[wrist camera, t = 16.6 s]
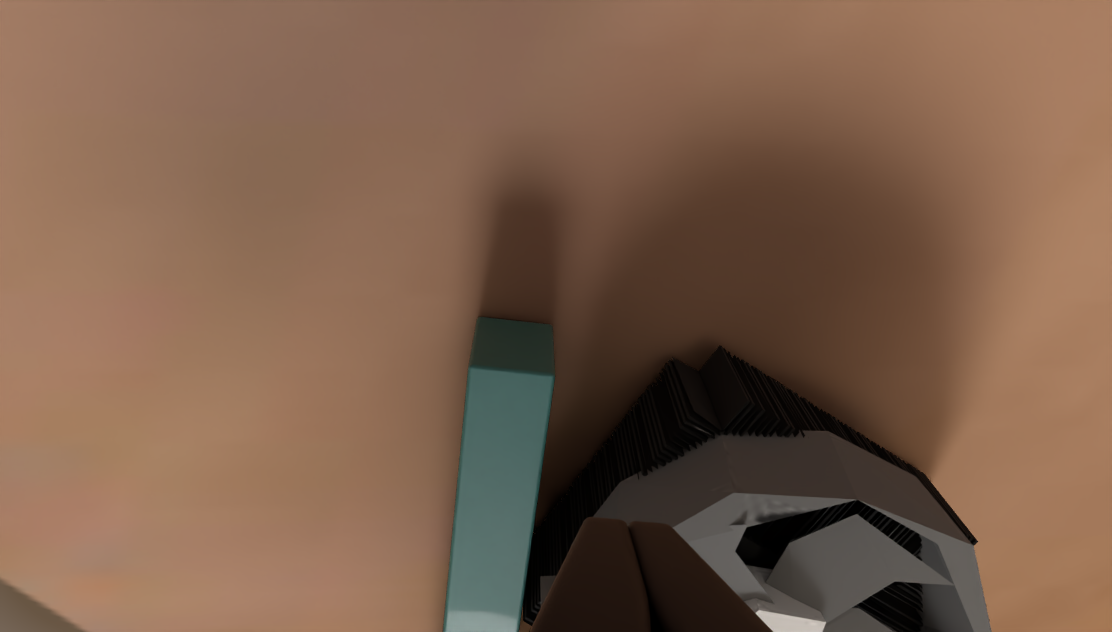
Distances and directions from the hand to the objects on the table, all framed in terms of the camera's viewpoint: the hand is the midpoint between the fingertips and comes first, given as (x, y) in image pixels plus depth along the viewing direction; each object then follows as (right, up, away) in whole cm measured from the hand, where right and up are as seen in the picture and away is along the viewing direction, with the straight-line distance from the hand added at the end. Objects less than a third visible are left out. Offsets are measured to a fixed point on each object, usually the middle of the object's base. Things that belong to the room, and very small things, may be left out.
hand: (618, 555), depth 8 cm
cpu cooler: (+4, -4, +16) cm, 17 cm away
